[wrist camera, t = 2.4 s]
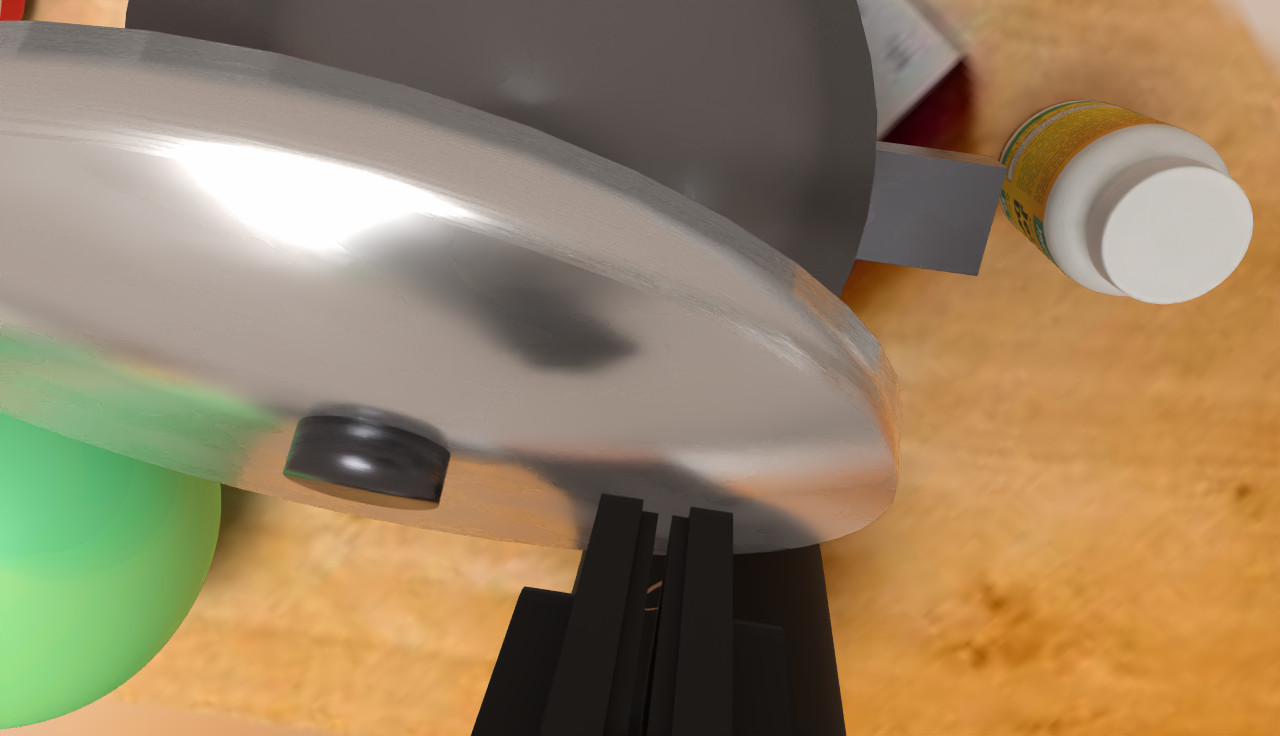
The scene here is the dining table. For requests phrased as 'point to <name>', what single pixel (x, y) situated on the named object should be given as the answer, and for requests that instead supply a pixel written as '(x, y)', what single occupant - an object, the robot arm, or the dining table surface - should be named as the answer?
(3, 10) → the beer can
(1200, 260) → the supplement bottle
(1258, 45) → the dining table surface
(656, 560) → the coffee jar
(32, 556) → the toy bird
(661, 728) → the robot arm
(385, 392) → the lid
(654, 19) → the pot
